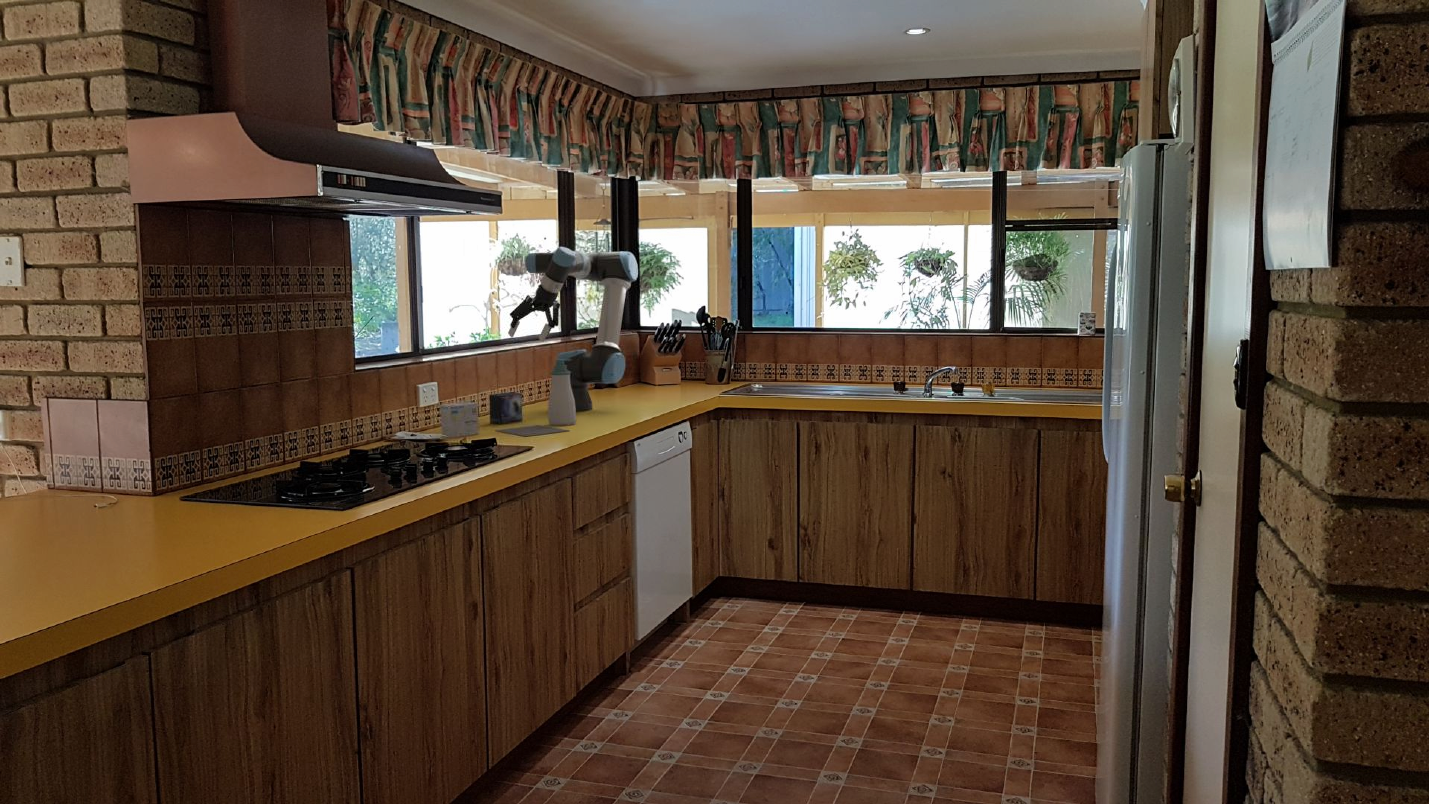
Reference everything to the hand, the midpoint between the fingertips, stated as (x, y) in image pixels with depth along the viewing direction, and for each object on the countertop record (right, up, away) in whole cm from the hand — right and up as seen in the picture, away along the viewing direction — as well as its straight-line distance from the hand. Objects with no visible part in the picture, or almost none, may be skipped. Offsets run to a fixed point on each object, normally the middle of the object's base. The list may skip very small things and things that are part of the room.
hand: (525, 337), depth 390 cm
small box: (-6, -31, -3) cm, 32 cm away
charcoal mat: (+7, -33, -27) cm, 44 cm away
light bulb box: (-16, -35, -34) cm, 51 cm away
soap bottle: (+15, -31, -11) cm, 37 cm away
